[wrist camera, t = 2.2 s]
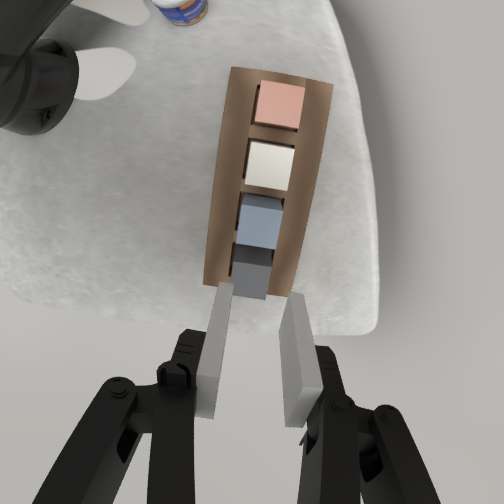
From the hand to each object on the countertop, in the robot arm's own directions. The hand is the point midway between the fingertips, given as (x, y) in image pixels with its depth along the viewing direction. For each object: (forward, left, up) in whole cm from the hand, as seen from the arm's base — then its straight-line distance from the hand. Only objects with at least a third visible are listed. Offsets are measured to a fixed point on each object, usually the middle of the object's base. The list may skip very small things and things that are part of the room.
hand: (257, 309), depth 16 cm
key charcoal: (0, -6, -19) cm, 20 cm away
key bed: (0, +3, -23) cm, 23 cm away
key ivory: (0, +6, -19) cm, 20 cm away
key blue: (0, 0, -19) cm, 19 cm away
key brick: (0, +12, -19) cm, 22 cm away
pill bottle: (-13, +25, -23) cm, 36 cm away
